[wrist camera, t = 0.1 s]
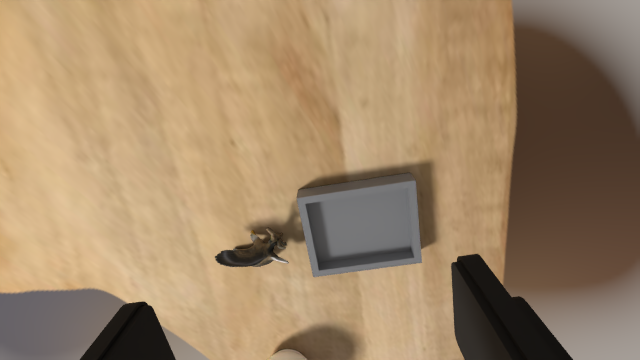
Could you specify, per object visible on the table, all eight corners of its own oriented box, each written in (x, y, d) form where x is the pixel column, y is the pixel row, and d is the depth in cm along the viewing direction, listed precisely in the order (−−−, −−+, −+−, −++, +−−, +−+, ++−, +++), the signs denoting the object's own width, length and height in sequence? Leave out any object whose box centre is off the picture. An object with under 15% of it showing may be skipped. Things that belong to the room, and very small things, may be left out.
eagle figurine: (259, 207, 49) (208, 243, 49) (276, 245, 44) (220, 284, 44) (284, 228, 54) (239, 260, 55) (301, 263, 50) (252, 298, 50)
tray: (298, 189, 49) (296, 198, 46) (410, 172, 48) (415, 180, 45) (313, 265, 53) (313, 277, 51) (416, 251, 52) (421, 262, 49)
